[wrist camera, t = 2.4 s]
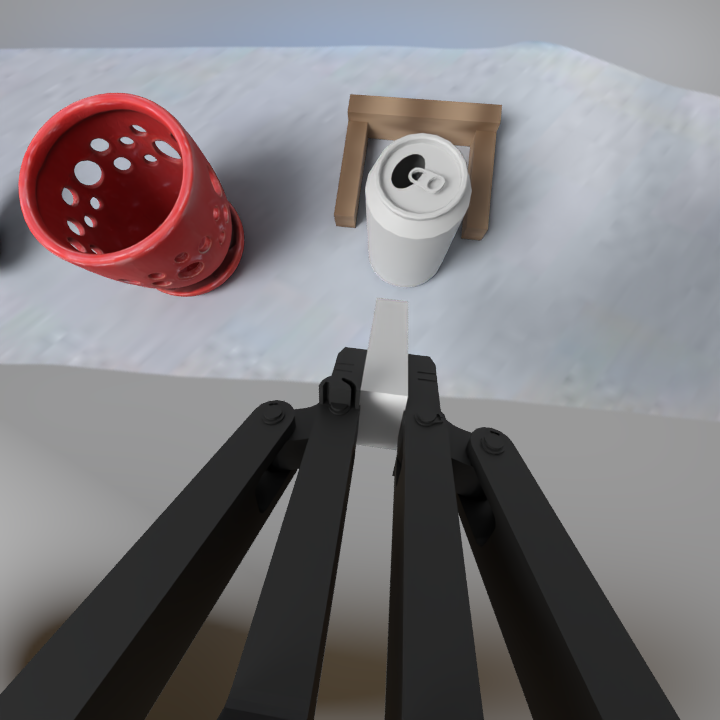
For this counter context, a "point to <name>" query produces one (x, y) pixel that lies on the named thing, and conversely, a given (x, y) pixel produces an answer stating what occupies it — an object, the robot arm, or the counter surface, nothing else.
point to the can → (415, 207)
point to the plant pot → (131, 198)
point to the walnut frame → (413, 117)
